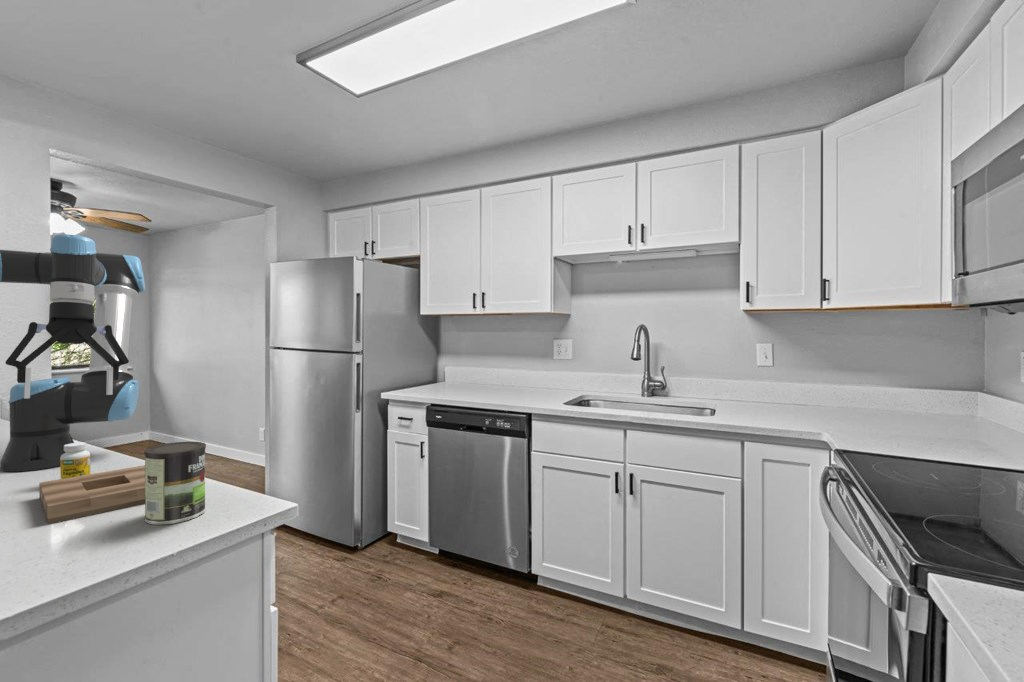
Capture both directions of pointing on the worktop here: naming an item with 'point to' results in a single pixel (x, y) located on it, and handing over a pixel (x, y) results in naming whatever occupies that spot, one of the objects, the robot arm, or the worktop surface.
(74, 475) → the supplement bottle
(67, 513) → the socket block
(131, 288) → the robot arm
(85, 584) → the worktop surface
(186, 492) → the coffee can
